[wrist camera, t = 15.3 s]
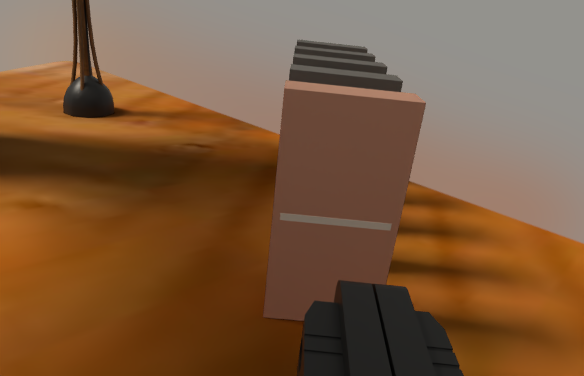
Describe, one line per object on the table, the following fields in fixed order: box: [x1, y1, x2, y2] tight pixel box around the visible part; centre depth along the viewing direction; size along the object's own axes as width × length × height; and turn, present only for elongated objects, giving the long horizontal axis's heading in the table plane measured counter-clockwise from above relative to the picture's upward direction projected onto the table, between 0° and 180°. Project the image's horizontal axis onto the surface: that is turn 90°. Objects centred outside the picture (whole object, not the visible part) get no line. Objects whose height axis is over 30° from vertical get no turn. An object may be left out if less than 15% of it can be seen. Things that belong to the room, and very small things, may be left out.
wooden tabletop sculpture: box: [63, 0, 114, 117], centre depth 42 cm, size 6×5×20 cm
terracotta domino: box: [263, 80, 426, 321], centre depth 18 cm, size 2×5×10 cm, turn 89°
